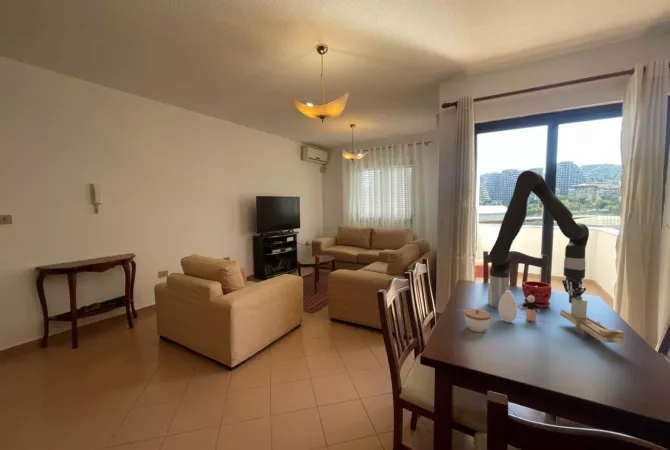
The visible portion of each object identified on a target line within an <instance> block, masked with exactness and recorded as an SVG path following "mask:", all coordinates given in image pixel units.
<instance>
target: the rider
mask: <svg viewBox="0 0 670 450" xmlns="http://www.w3.org/2000/svg"><path fill="white" fill-rule="evenodd" d="M570 304H571V303H570ZM587 304H588V300H586V299H584V298H583V297H582V295H581V296H577V298H572V304H571V307H570V308H571V309H570V311H571V314H572V315H573V316H575V317H576V318H583V319H586V316H587V311H588V310H587V308H588V305H587Z"/></svg>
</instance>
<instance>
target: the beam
mask: <svg viewBox="0 0 670 450" xmlns="http://www.w3.org/2000/svg"><path fill="white" fill-rule="evenodd" d="M559 315H560V316H561V317H563V318H564V319H566V320H567V321H569V322H570V323H572V324H573V325H574V326H575V330H574V331H575V334H576V335H577V336H578V337H580V338H581V339H583V340H598V341H600V342H601V343H614V344H624V338H625V336H624V334H625V332H624V331H622V330H620V329H609V327H606V326H605V325H603V324H601V322H599V321H595V319H593V318H590V317H589V316H587V315H586V319H583V318H576V317H575V316H573V315H572V314H571V310H565V309H560V313H559Z"/></svg>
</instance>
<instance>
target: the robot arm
mask: <svg viewBox="0 0 670 450" xmlns="http://www.w3.org/2000/svg"><path fill="white" fill-rule="evenodd" d="M531 193H533V194H534V195H535V196H537V198H538V200H540V202H541V204H542V206H543V207H544V209H545V211H546V212H547V213H548V215H549V216H550V217H551V218H552V219H553V221H554V222H556V223H557V226H558V228H559V231H561V233H562V235H563V236H564V237H565V238H567V239H569V241H568V244H566V246H565V249H564V250H565V251H564V260H563V276H564V277H565V279H562V280H561V282H562V285H563V288H564V290H565V292H566V293H567V294H568V297H569V298H568V303H569V304H572V298H577V296H581V297H582V295H583V294H584V292H586V290H587V288H586V287H584V286H583V281H582V280H583V279H585V277H586V263H587V262H586V247H587V245H588V241H589V237H590V230H589V228H588V226H587V225H586V224H584V223H581V222H579V223H577V222H576V221H575V220H574V218H573V217H574V216H573V212H571V211H570V209H569V208H567V206H566V205H565V204H564V203H563V202H562V201H561V200H560V199H559V197H557V195H556V194H555V193H554V192H553V191H552V189H551V188H550V187H549V185H548V183H547V182H546V180H545V178H544V177H543V175H542V174H541V173H539V172H538V171H533V170H528V169H527V170H524V171H522V172H521V173H520V174H519V175H518V177H517V179H516V181H515V186H514V189H513V193H512V196H511V199H510V201H509V204H508V205H507V206H508V207H507V209H506V211H505V213H504V217H503V218H502V222H501V225H500V228H499V232H498V234H497V237H496V240H495V242H494V244H493V245H492V248H491V250H490V251H489V256H488V257H489V260H490V262H491V265H490V268H489V286H488V288H487V304H488V305H489V306H490V307H491V308H495V309H498V306H499V301H500V299H501V297H502V295H503V294H504V293H505V291H506V290H508V286H509V287H510V271H511V261H512V260H511V258H512V257H511V256H512V255H511V247H512V245H513V242H514V240H515V239H516V238H517V236H518V234H519V233H520V231H521V229H522V227H523V225H524V223H525V220H526V217H527V210H528V201H529V197H530V195H531Z"/></svg>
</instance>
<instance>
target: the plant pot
mask: <svg viewBox="0 0 670 450" xmlns="http://www.w3.org/2000/svg"><path fill="white" fill-rule="evenodd" d="M522 292H523V296H524V303H529V302H528V300H527V297H528V296H534V298H535V301H534V302H533V303H534V304H536V305H537V306H538V308H548V307H549V306H550V305H551V303H550V298H551V296H552V285H551V284H550V283H547V282H541V281H534V280H533V281H531V280H530V281H523V282H522Z"/></svg>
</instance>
